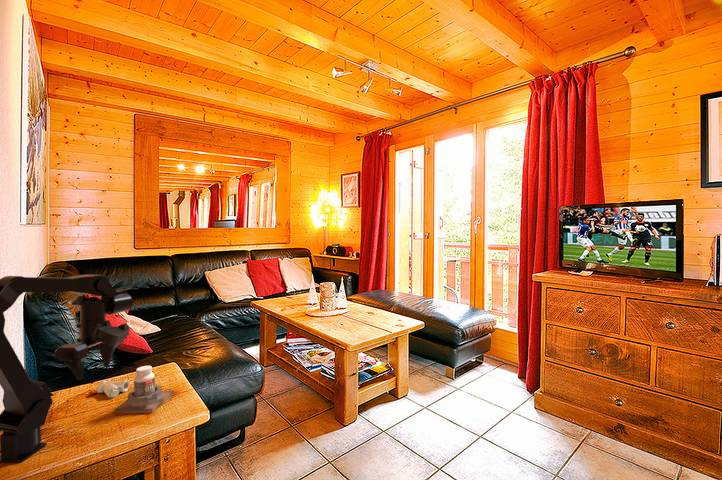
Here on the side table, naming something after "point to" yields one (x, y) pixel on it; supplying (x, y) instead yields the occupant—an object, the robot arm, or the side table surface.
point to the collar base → (145, 408)
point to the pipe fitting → (113, 387)
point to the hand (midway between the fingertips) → (94, 372)
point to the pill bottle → (144, 381)
